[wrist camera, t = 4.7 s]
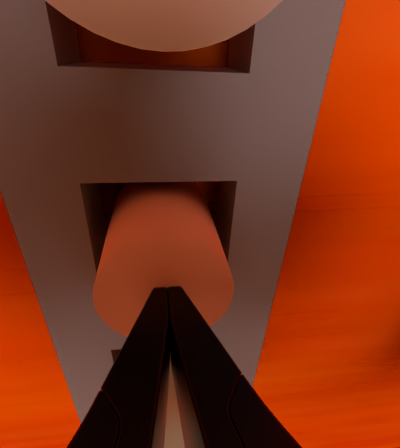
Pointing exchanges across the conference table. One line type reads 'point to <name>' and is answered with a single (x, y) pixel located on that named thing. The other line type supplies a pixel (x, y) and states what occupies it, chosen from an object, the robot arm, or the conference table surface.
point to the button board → (155, 161)
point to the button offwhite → (165, 20)
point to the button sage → (173, 418)
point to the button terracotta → (160, 253)
